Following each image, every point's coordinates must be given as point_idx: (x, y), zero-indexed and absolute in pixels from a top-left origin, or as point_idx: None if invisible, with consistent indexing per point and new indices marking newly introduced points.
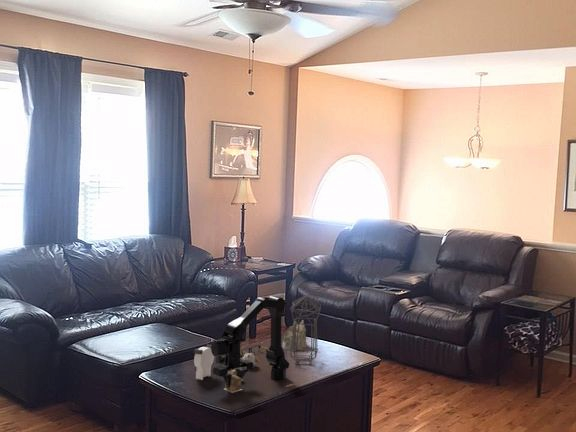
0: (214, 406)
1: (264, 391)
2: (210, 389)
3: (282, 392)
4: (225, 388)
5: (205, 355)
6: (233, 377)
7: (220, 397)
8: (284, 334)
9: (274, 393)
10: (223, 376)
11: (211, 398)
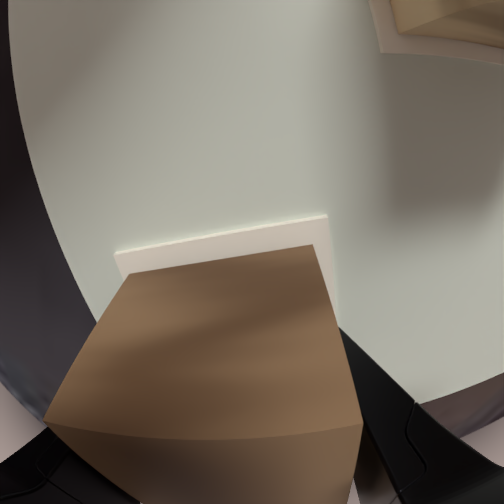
0: (47, 426)
1: (467, 393)
2: (4, 138)
3: (501, 414)
4: (144, 253)
5: None
6: (226, 495)
7: None
8: None
9: (469, 422)
10: (7, 474)
11: (15, 347)
